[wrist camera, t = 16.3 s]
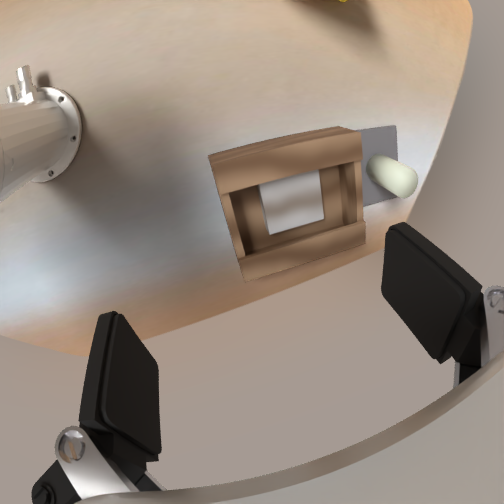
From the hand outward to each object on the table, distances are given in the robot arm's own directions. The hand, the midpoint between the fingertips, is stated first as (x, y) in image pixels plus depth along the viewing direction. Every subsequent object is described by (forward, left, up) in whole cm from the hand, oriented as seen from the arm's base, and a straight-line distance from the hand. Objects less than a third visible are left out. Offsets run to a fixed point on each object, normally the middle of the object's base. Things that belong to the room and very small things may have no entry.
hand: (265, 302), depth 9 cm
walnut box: (+9, +9, -28) cm, 31 cm away
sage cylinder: (+8, +24, -28) cm, 37 cm away
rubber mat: (+8, +24, -28) cm, 38 cm away
